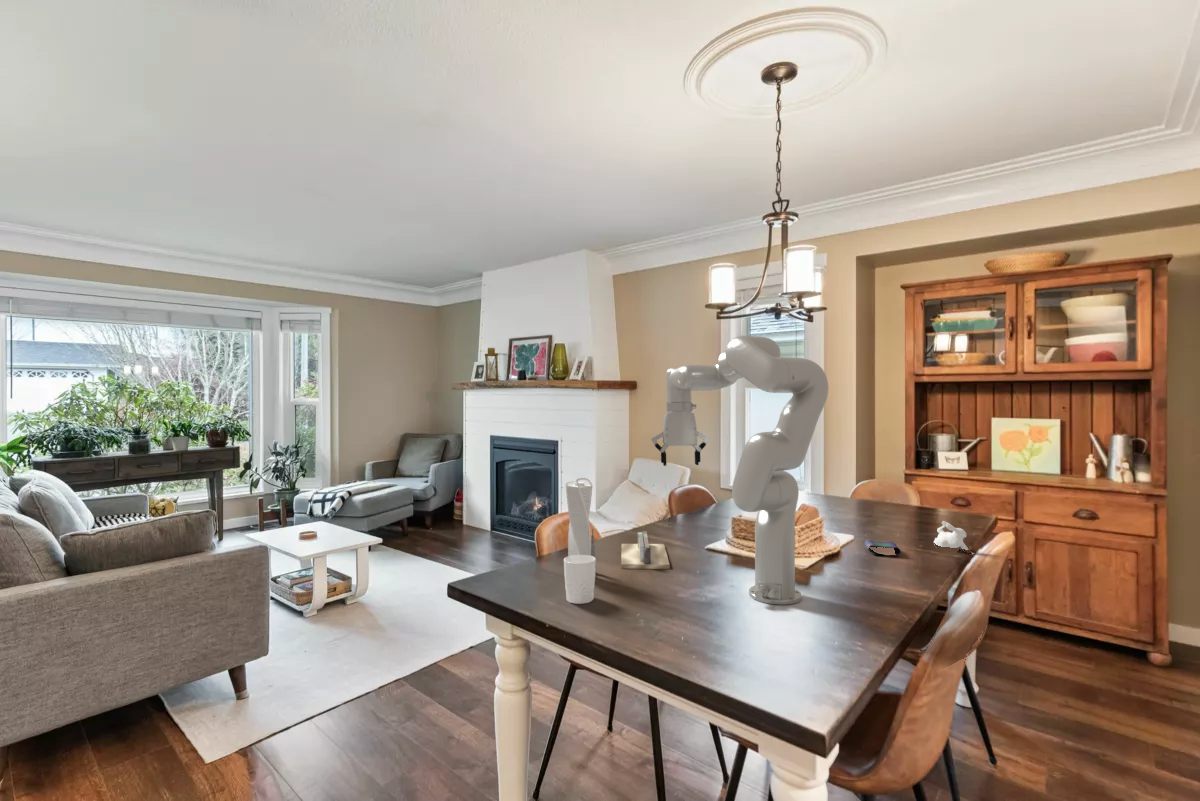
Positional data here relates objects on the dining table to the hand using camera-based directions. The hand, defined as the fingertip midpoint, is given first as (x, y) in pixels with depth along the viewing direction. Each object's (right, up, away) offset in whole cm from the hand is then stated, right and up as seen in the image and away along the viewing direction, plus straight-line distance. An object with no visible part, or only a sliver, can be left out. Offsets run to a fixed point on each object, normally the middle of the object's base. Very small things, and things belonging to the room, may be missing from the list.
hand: (680, 465), depth 175 cm
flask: (+64, -30, +5) cm, 71 cm away
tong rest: (-11, -29, +4) cm, 32 cm away
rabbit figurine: (+88, -29, +11) cm, 94 cm away
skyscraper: (-30, -30, -15) cm, 45 cm away
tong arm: (-12, -28, +5) cm, 31 cm away
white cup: (-29, -30, -32) cm, 53 cm away
